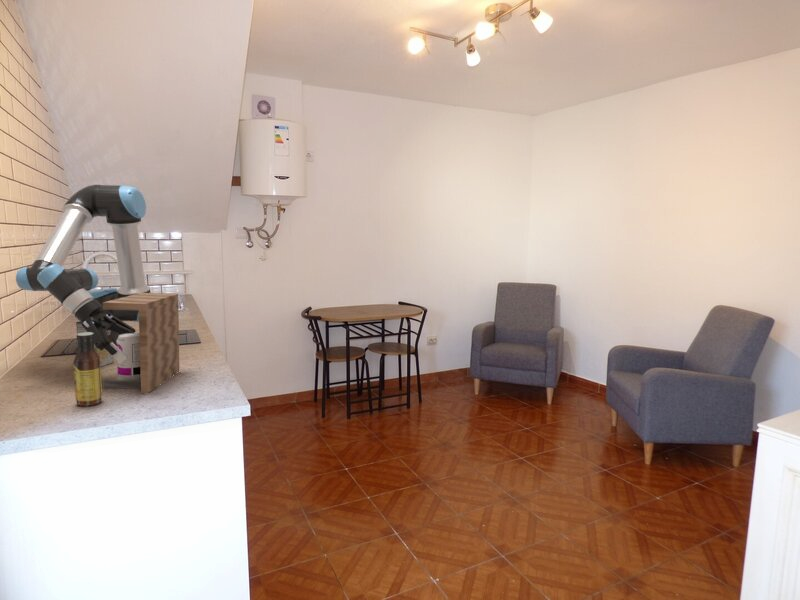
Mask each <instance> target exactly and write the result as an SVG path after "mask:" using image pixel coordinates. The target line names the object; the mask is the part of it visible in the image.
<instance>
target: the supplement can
mask: <svg viewBox="0 0 800 600" xmlns="http://www.w3.org/2000/svg"><path fill="white" fill-rule="evenodd" d="M116 342H117V347H118V348H119V349H120V350H121V351H122V352H123V353H124V354H125V355H126V356H127V357H128V358H127V359H126V360H125V361H124V362H123V363H122V364H120V363H119V362H118V361H117V360H116V363H117V364H116V367H117V380H133V381H141V373H140V339H139V332H135V333H127V334H121V335H119V337H118V339H117V341H116Z"/></svg>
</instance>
